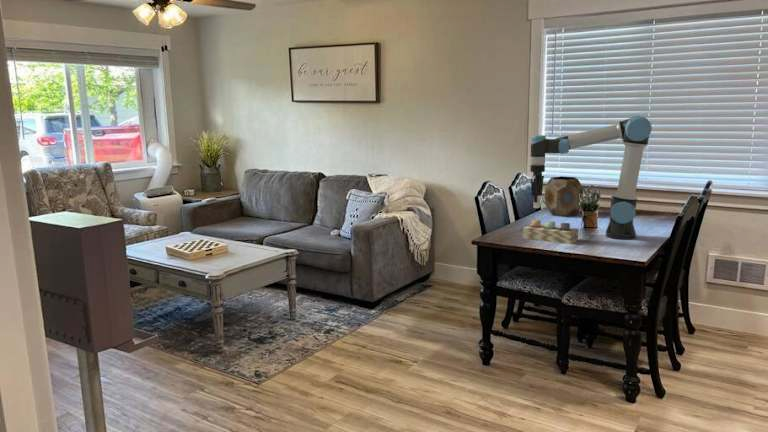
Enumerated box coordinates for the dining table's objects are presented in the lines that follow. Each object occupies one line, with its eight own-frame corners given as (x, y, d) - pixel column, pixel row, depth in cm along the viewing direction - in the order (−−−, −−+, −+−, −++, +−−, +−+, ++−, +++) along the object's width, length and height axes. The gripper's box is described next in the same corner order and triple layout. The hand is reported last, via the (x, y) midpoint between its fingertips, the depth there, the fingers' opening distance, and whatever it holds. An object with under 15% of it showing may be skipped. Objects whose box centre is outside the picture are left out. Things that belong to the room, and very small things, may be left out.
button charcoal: (570, 230, 304) (571, 223, 304) (567, 232, 301) (568, 224, 300) (562, 229, 307) (562, 222, 306) (559, 231, 303) (559, 224, 303)
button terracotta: (541, 227, 314) (541, 220, 313) (538, 229, 310) (538, 221, 309) (533, 226, 316) (533, 219, 316) (530, 228, 313) (530, 221, 312)
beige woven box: (577, 239, 307) (578, 228, 306) (570, 244, 297) (570, 232, 296) (531, 234, 322) (531, 223, 321) (522, 238, 313) (523, 227, 311)
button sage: (556, 229, 309) (556, 221, 308) (553, 230, 305) (553, 223, 305) (547, 228, 312) (548, 221, 311) (544, 229, 308) (544, 222, 307)
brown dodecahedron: (539, 215, 376) (540, 179, 371) (553, 209, 395) (554, 175, 390) (573, 218, 362) (574, 181, 358) (585, 212, 381) (587, 176, 377)
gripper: (536, 162, 315) (535, 205, 319) (525, 165, 303) (524, 209, 308) (549, 163, 310) (548, 206, 315) (539, 166, 299) (538, 210, 303)
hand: (536, 207), depth 311 cm, fingers closed
